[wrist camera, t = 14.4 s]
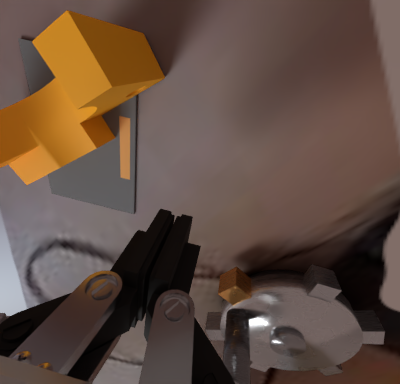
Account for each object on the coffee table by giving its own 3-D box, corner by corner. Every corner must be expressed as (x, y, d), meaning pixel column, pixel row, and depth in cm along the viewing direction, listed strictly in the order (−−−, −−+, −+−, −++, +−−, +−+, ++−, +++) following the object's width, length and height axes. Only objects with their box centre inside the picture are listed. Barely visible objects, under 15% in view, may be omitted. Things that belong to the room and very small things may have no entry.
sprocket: (223, 350, 27) (216, 431, 21) (191, 268, 21) (169, 351, 15) (366, 358, 23) (409, 462, 17) (381, 259, 16) (458, 370, 11)
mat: (134, 213, 20) (133, 214, 20) (53, 192, 21) (51, 193, 21) (137, 63, 14) (136, 62, 14) (20, 38, 14) (17, 38, 14)
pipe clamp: (58, 167, 19) (-19, 210, 13) (21, 119, 17) (-85, 145, 12) (178, 104, 15) (137, 129, 9) (143, 33, 13) (67, 10, 7)
